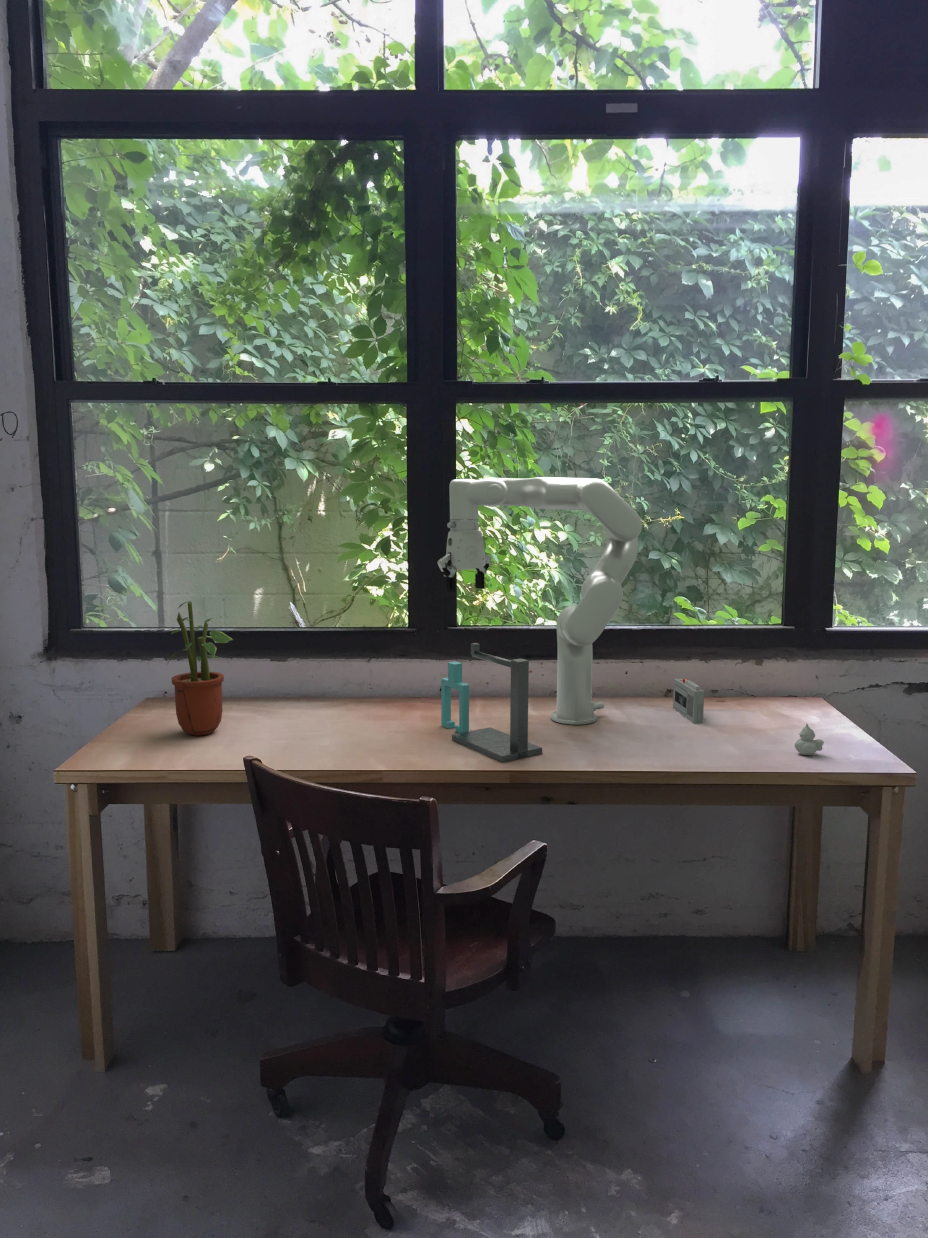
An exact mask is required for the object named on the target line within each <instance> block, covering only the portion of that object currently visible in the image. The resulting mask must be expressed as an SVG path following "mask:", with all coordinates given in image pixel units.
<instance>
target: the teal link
mask: <svg viewBox="0 0 928 1238" xmlns="http://www.w3.org/2000/svg"><path fill="white" fill-rule="evenodd" d="M440 679H441V681H440V687H441V688H440V690H441V691H440V693H441V695H440V698H441V700H440V701H441V702H440V706H441V707H440V708H441V713H440V714H441V715H440V720H441V721H440V722H441V725H440V726H441V727H444V728H446V729H449V730H450V729H454V732H455V733H457V734H458V733H463V732H468V731H470V684H468V683H466V682H463V663H462V662H458V661H450V662H447V677H443V678H440ZM452 689H453V690H456V691H458V693H459V695H458V699H459V700H458V702H459V703H458V706H459V707H458V711H459V712H458V716H459V717H458V720H459V721H458V724H457V725H456V721H453V720H452V696H451V695H452Z"/></svg>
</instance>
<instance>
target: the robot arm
mask: <svg viewBox="0 0 928 1238" xmlns="http://www.w3.org/2000/svg"><path fill="white" fill-rule="evenodd" d="M448 485H449V488H448V489H449V522H447V524H446V527H447V528H448V529H450V531H448V534H447V541H446V548H445V549H446V553H445V555H444V556H443V557H441V558H440V559H439V560H437V565H438V567H439V570H440V572H441V573H442V574H443V577H445V588H446V592H448V593H455V592H456V590H457V589H456V577H455V574H456V572H457V571H458V570H459V571H460V570H475V572H476V573H475V574H474V579H475V580H474V581H475V583H474V584H475V585H474V588H475V589H479V590H485V574H487V571H488V570H489V568H490V563H491V562H492V556H490V555H489V554H487V553H485V544H484V543H485V542H484V538H483V532H482V530H479V527H480V526H479V506H484V507H491V508H492V507H495V508H496V507H498V506H503V507H504V506H505V507H508V506H513V507H527V508H532V509H538V510H556V511H557V510H560V511H561V510H564V511H565V510H567V511H589V513H590V514H591V515H592V516H593V517H594V518H595V519H596V520H597V521H598V522H599V523H600V524H601V526H602V529H603V532H604V533H605V536H606V546H605V548H604V549H605V550H604V551H603V553H602V554H601V556H600V558H599V560H598V562H597V563H596V564H595V565H594V567H593V569H592V570H591V571H590V573H589V574H588V576H587V577H586V578H585V579H584V581H583V583H582V585H581V588H580V589H581V590H580V594H581V597H582V598H581V599H580V601H579V602H578V604H572V605H568V606H566V607H564V608H563V609H562V610H561V611H560V612H559V615H558V616H557V619H556V641H557V663H556V664H557V667H556V668H557V669H556V710H554V711H553V712H551V713H550V719H551V721H553V722H556V723H560V724H563V725H571V726H572V725H574V726H576V725H577V726H579V725H580V726H581V725H588V724H592V723H594V722H595V723H596V721H597V718H598V717H597V714H596V713H595V711H597V710H602V709H605V704H604V702H603V701H599V702H594V701H592V695H593V694H592V690H593V689H592V687H593V686H592V685H593V663H594V662H593V660H594V659H593V657H594V655H593V654H594V653H593V643H594V642H595V641H596V640H597V639H598V638H599V637H600V636H601V634H602V633H603V632H604V630H605V629H606V628H607V626H608V624H609V623H610V621H611V620H612V618H613V617H614V615H615V614H616V613H617V611H618V609H619V608H620V606H621V603H622V602H623V596H624V591H623V587H622V584H623V583H624V580H626V578H627V575H628V574H629V572H630V570H631V569H632V567H633V565H634V564H635V562H636V559H637V555H638V550H639V548H638V547H639V546H638V545H639V541H638V537H639V536H640V534H641V532H642V529H643V522H642V519H641V517H640V515H639V514H638V512H637V511H635V509H634V508H633V507H631V505H630V504H629V503H628V502H626V500H624V498H623V497H621V496H620V494H618V492H617V491H616V490H615V489H614V488H613V487H612V486H611V485H610V484H609V483H607V482H606V480H603V479H601V478H596V477H594V478H593V477H558V476H557V477H556V476H554V477H551V476H540V477H538V476H537V477H531V478H527V477H526V478H516V477H515V478H514V477H513V478H511V477H510V478H508V477H486V478H483V479H473V478H457V479H456V478H455V479H451V481H450V483H449V484H448Z"/></svg>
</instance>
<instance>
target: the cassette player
mask: <svg viewBox="0 0 928 1238" xmlns="http://www.w3.org/2000/svg"><path fill="white" fill-rule="evenodd" d="M672 697H673V698H672V710H674V709H675V710H674V711H675V712H676V713H678V712H679V713H680V715H681V716H682V717H684V718H685V717H686V718H687V720H688V721H689V720H690V721H689V722H691V723H692V724H703V723H704V710H705V709H704V708H705V706H704V705H705V690H703V689H702V688H701V686H699V685H698V684H696V683H695V682H693V681H691V680H689V679H687V678H674V679H673V696H672ZM679 713H678V714H679ZM686 718H685V719H686Z"/></svg>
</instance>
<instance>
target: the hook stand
mask: <svg viewBox="0 0 928 1238" xmlns="http://www.w3.org/2000/svg"><path fill="white" fill-rule="evenodd" d="M480 645H481V644H480V643H479V642H473V643H470V655H471V656H472V657H473V658H476V659H480V660H483V661H487V662H490V663H494V664H496V665H497V664H498V665H501V666H504V667H509V668H510V710H509V711H510V714H509V715H510V720H509V722H510V724H509V734H508V733H506V732H503V731H501V730H498V729H495V728H493V727H489V726H488V727H486V728H485V727H484V728H479V729H475V730H469V731H468V732H463V733H458V732H457V733H452V734H451V741H452V742H455V743H457V744H459V745H461V746H464V747H466V748H468V749H471V750H473V751H476V752H478V753H480V754H482V755H485V756H486V757H490V758H492V759H493V760H496V761H498V762H501V763H505V762H509V761H510V762H511V761H515V760H520V759H524V758H529V757H532V756H538V755H543V747H541V746H539V745H536V744H534V743H531V742H529V683H530V681H529V679H530V678H529V676H530V675H529V673H530V672H529V671H530V670H529V669H530V668H529V667H530V664H529V662H530V661H529V660H527V659H524V658H517V659H516V658H515V659H508V658H507V659H506V658H504V657H503V658H502V657H500V656H495V655H492V654H488V653H484V652H482V651H480V650H481V649H480Z"/></svg>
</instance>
